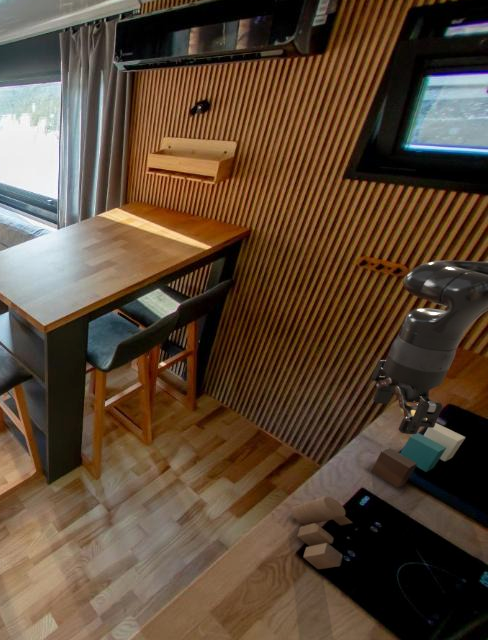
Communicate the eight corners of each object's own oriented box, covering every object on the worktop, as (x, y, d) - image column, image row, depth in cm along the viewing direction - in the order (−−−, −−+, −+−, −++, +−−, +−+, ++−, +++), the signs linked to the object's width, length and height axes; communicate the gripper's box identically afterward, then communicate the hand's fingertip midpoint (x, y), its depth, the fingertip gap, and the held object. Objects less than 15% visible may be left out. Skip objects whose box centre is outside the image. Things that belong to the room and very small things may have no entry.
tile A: (424, 442, 101) (436, 422, 97) (452, 457, 96) (465, 437, 93) (416, 446, 100) (428, 426, 97) (444, 461, 96) (458, 441, 92)
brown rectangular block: (378, 467, 97) (389, 447, 94) (405, 483, 93) (417, 463, 89) (370, 471, 97) (381, 451, 93) (397, 488, 92) (409, 467, 89)
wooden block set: (321, 578, 81) (361, 573, 74) (278, 543, 85) (312, 535, 78) (337, 518, 90) (374, 508, 83) (297, 488, 94) (330, 477, 87)
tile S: (405, 452, 99) (417, 432, 96) (433, 467, 95) (446, 447, 91) (398, 456, 99) (409, 436, 95) (426, 472, 94) (438, 451, 91)
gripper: (477, 385, 64) (443, 447, 70) (419, 338, 75) (394, 395, 82) (417, 381, 67) (389, 440, 73) (370, 336, 78) (350, 391, 85)
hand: (392, 416), depth 78 cm, fingers open, 8 cm apart
